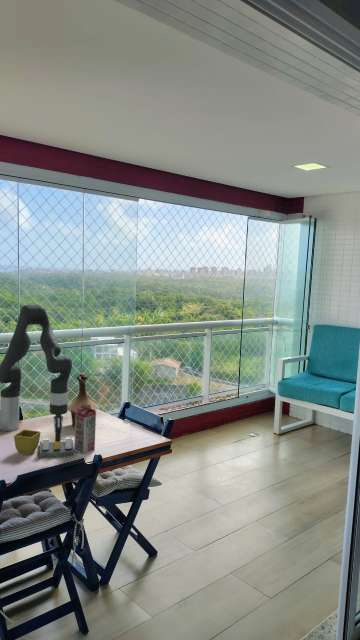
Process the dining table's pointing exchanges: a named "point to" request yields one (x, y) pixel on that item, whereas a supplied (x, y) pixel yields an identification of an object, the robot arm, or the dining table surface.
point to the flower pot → (27, 441)
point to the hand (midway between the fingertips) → (57, 441)
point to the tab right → (68, 442)
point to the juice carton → (85, 429)
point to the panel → (56, 450)
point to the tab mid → (56, 444)
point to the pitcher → (81, 398)
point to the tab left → (45, 443)
